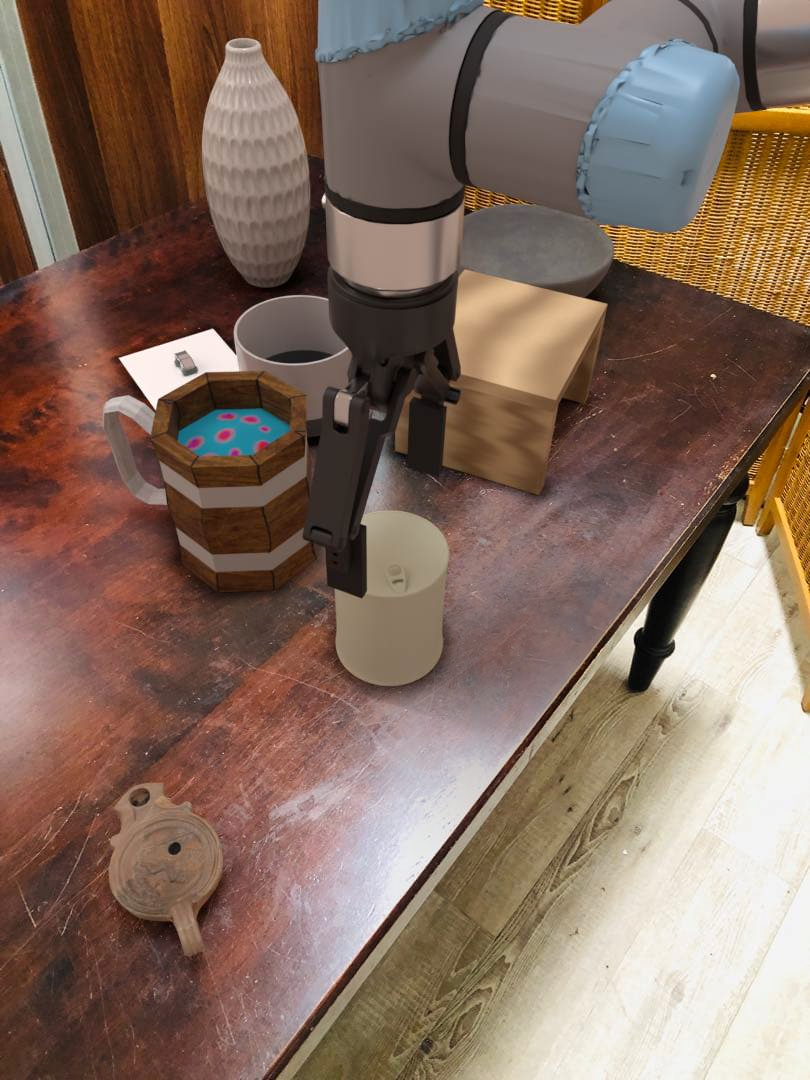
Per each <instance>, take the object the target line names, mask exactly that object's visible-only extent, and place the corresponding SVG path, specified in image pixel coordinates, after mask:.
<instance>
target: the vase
mask: <svg viewBox="0 0 810 1080" xmlns="http://www.w3.org/2000/svg"><path fill="white" fill-rule="evenodd" d="M262 48H263V47H262V44H261V43H260V42H259V41H258V40H256V39H253V38H248V37H247V38H246V37H242V38H241V37H239V38H235V39H231V40H229V41H228V42H226V44H225V56H224V61H223V64H222V66H221V68H220V71H219V72H218V75H217V77H216V80H215V83H214V85H213V87H212V89H211V92H210V95H209V98H208V101H207V105H206V108H205V112H204V116H203V117H204V118H203V125H202V132H201V162H202V171H203V180H204V185H205V186H204V187H205V194H206V199H207V200H206V201H207V204H208V209H209V213H210V216H211V220H212V223H213V227H214V230H215V232H216V235H217V237H218V239H219V241H220V244H221V246H222V248H223V250H224V253H225V254H226V256H227V257H228V259H229V261H230V263H231V264H232V266H233V267H234V268H235V269H236V271H238V273H239V274H240V276H241V277H242V278H243V280H245V282H247V283H248V284H249V285H251V286H254V287H257V288H263V289H265V288H267V289H269V288H276V287H279V286H281V285H284V284H285V283H287V282H288V281H289V280H290V278H291V277H292V275H293V273H294V271H295V270H296V267H297V265H298V264H299V262H300V259H301V257H302V254H303V251H304V248H305V246H306V245H305V244H306V241H307V237H308V231H309V223H310V212H311V180H310V179H311V178H310V168H309V158H308V157H309V156H308V150H307V147H306V142H305V137H304V133H303V130H302V127H301V123H300V120H299V117H298V114H297V112H296V109H295V107H294V105H293V102H292V100H291V99H290V96H289V94H288V93H287V91H286V89H285V88H284V86H283V84H282V83H281V82H280V80H279V79H278V77H277V76H276V75H275V73H274V71H273V70H272V68H271V67H270V65H269V64H268V62H267V61H266V59H265V57H264V54H263V49H262Z"/></svg>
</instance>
